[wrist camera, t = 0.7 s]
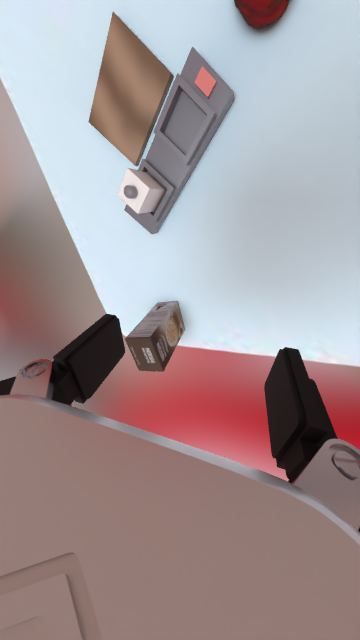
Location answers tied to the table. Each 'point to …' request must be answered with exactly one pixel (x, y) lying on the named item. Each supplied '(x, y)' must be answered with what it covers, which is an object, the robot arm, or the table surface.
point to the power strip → (183, 133)
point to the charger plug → (141, 191)
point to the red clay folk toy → (261, 11)
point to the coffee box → (156, 337)
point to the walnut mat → (128, 91)
